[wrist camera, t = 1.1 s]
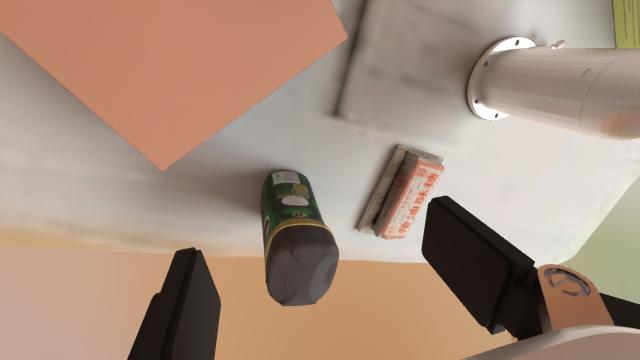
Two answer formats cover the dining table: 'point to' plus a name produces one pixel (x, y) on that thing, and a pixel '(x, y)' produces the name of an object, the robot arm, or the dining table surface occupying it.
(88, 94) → the lid
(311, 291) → the coffee jar
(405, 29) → the dining table surface
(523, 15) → the dining table surface
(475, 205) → the dining table surface
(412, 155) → the packaged product
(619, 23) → the protein box
